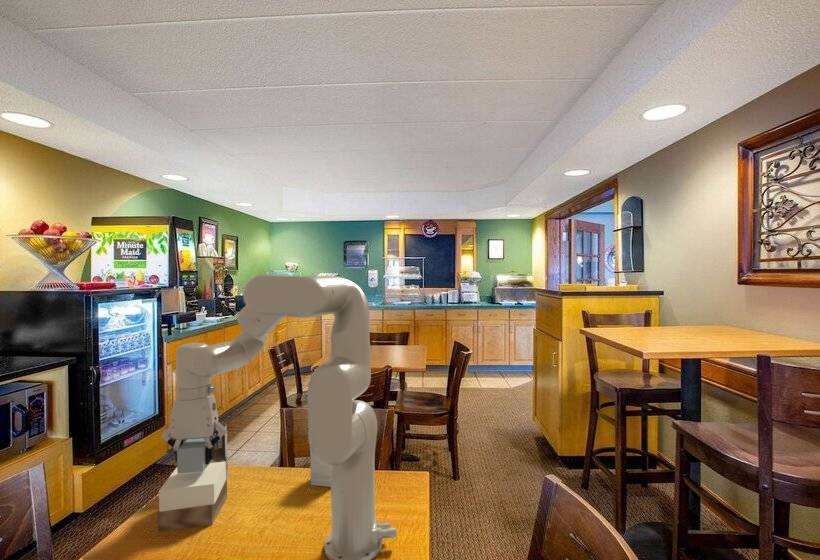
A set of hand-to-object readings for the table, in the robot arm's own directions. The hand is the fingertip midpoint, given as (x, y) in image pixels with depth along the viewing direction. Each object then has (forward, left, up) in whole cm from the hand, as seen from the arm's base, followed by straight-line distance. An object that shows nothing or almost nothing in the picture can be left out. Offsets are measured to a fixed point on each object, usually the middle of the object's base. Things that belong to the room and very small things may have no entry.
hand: (195, 462), depth 100 cm
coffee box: (+2, -16, -13) cm, 21 cm away
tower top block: (0, 0, -8) cm, 8 cm away
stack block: (0, 0, -1) cm, 1 cm away
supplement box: (-32, -11, -13) cm, 36 cm away
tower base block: (0, 0, -13) cm, 13 cm away
